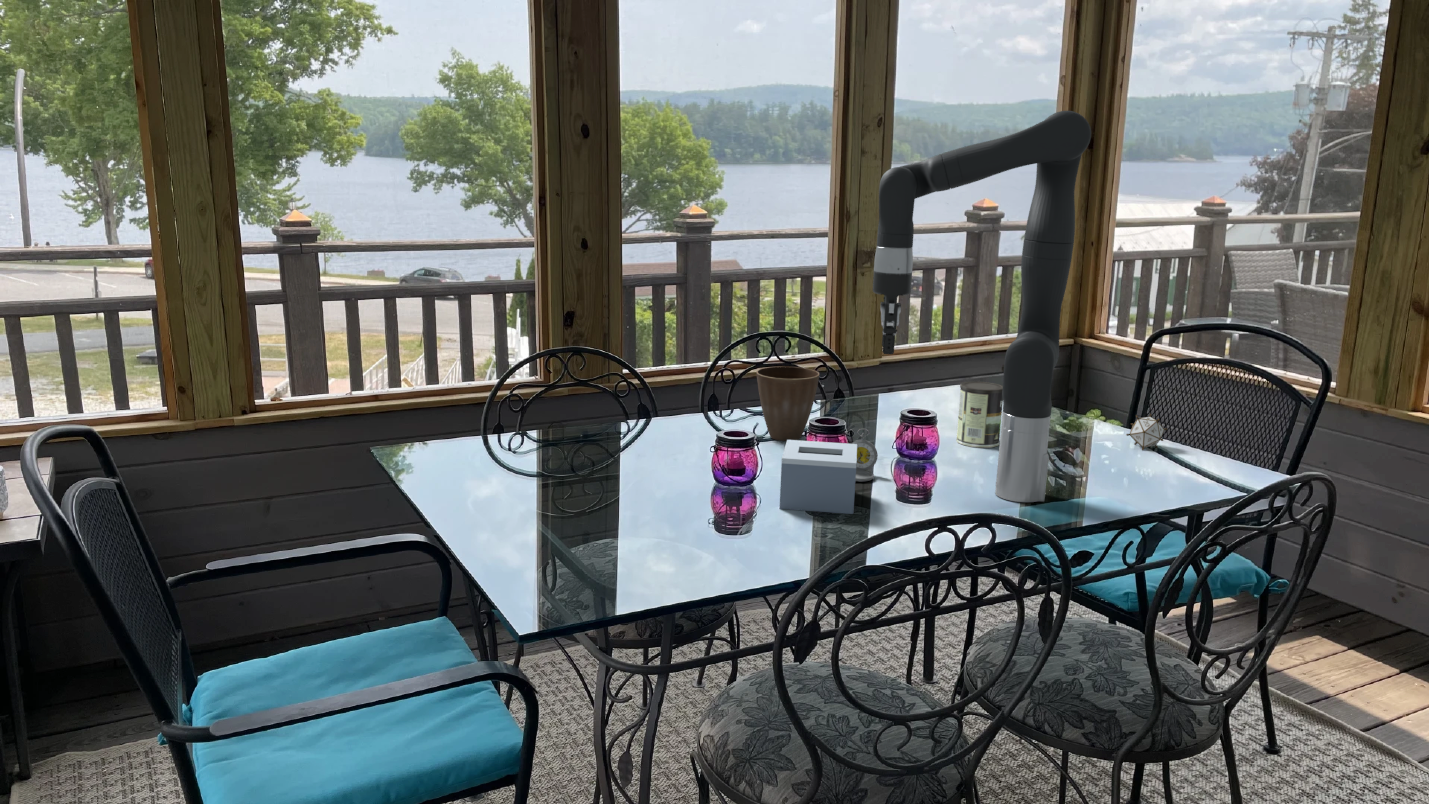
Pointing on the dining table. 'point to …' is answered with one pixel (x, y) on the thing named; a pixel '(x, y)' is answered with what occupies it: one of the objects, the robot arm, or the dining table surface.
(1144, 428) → the game die
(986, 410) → the coffee can
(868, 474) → the pocket watch
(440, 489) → the dining table surface
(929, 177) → the robot arm
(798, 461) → the coin box
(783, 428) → the plant pot
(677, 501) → the dining table surface
